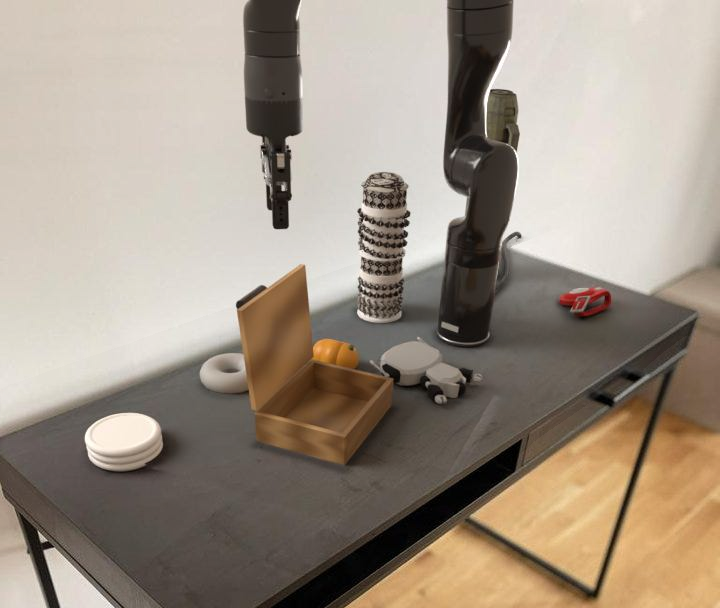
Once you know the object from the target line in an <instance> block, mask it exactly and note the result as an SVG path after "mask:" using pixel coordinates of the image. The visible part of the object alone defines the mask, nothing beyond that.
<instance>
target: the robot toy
mask: <svg viewBox="0 0 720 608" xmlns="http://www.w3.org/2000/svg"><path fill="white" fill-rule="evenodd" d="M416 339H417V340H418V341H415V340H413V341H408V342H407V341H406V342H402V343H400V344H397V345H393V346H392V347H390V348H389V349H388V350H387V351H385V352H384V353H383V354H382V355H381V357H380V363H379V365H378V364H377V363H376V362H375V361H374V360H369V363H370V364H371V365H372V366H374V367H375V368H376V369H377V370H378V371H380V375H381V376H385V377H389V378H393V379H394V380H393V383H395V384H397V385H399V386H406V387H407V386H408V387H410V386H415V385H419V384H420V385H421V386H422V387H423V388H426V391H427V396H428V397H429V399H430V400H431V401H432V402H435V403H437V404H439V405H442V404H446V403H447V401H448V399H447V398H451V399H456V398H458V396H463V395H464V394H465V393H466V391H467V387H466V383H468V384H471V381H472V382H474V383H481V382H482V380H483V375H482V374H480V373H474V370H473V369H469V368H465V367H461V368H457V367H455V366H452V365H450V364H447V363H445V362H442V361H443V354H442V353H441V352H440V351H439V349H437V348H435V347H433V346H431V345H429V344H428V343H427V342H425V340H424V339H422V338H421V337H420V336H417V337H416Z"/></svg>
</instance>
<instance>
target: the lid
mask: <svg viewBox="0 0 720 608" xmlns="http://www.w3.org/2000/svg"><path fill="white" fill-rule="evenodd" d="M307 279H308V278H307V269H306V264H302V263H300V264H299V265H297V266H296V267H295V268H293V269H291V270H290V271H288V273H286V274H285V275H284V276H282V277H281V278H279V279H278V280H276V281H275V282H274V283H272V284H271V285H269V286H268V287H267V286H266V285H265V284H264V285H263V284H261V285H258V286H257V287H256V288H254V289H252V290H251V291H250V292H248V293H247V294H246V295H244V296H242V297H241V298H239V299H238V300H236V302H235V308H236V315H237V320H238V328H239V335H240V340H241V346H242V347H241V348H242V354H243V355H244V361H245V368H246V375H247V381H248V388H249V391H248V394H249V401H250V407H251V410H252V411H256V412H257V411H258V410H259V409H260V408H261V407H262V406H263V405H264V404H265V403H266V402H267V401H268V400H269V399H270V398H271V397H272V396H273V395H274V394H276V393H277V392H278V391H279V390H280V389H281V388H282V387H283V386H284V385H285V384H286V383H287V382H288V381H289V380H290V379H291V378H292V377H294V376H295V375H296V374H297V373H298V372H299V371H300V370H301V369H302V368H303V367H304V366H305V365H306V364H307V363H308V362H310V361H311V360H312V358H313V357H314V354H313V347H314V344H313V343H314V342H313V333H312V323H311V322H312V321H311V312H310V301H309V292H308V291H309V290H308V282H307V281H308V280H307Z"/></svg>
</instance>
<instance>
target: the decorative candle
mask: <svg viewBox="0 0 720 608" xmlns="http://www.w3.org/2000/svg"><path fill="white" fill-rule="evenodd" d="M360 185H361V187H362V188H363V190H362V191H363V192H362V198H363V199H362V201H361V207H359V208H357V210H356V211H357V214H358V221H357V225H358V230H357V233H358V242H357V245H358V246H359V248H358V254H359V256H360V257H361V258H360V267H359V276H358V277H357V281H358V285H357V289H358V293H357V295H356V298H357V303H356V307H357V312H356V314H357V316H358V317H359V318H360V319H361V320H364V321H366V322H370V323H374V324H375V323H376V324H385V323H392V322H396V321H398V320H400V318H402V313H403V312H402V310H403V309H402V308H403V306H404V305H403V304H402V303H403V300H404V297H403V292H404V287H403V285H404V283H405V279H404V277H403V274H404V273H403V272H404V269H403V262H404V261H403V259H404V257H406V253H407V252H406V249H405V247H406V246H408V241H407V240H406V238H408V237H409V232H408V231H407V230H406V229H405V228H407V227H409V226H410V224H411V223H410V220H408V218H410V217H411V214H412V213H411V211H410V210H409V209H408V203H407V198H408V197H407V196H408V189H409V186H410V185H409V184H408V183H407V182H405V179H404V178H403V177H402V176H401V175H400V174H397V173H394V172H389V171H378V172H374V173H371V174H369V175H368V177H367V178H366V180H364V181H362V182H361V184H360Z"/></svg>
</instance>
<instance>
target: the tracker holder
mask: <svg viewBox="0 0 720 608" xmlns="http://www.w3.org/2000/svg"><path fill="white" fill-rule="evenodd" d="M603 297H604V298H603ZM601 298H603V299H604V300H603V302H602V303H601V304H599V305H597V306H595V307H592V308H590V309H587V310H585V309H586V308H587V305H590V304H592V303H594V302H596V301H598V300H599V299H601ZM558 300H559V304H560V305H562V306H572V307H571V308H570V310H569V313H570V314H573V315H574V316H575V317H589V316H591V315H595V314H597V313H599V312H602V311H604V310H606V309H608V308H609V307H610V306H611V303H612V294H611V292H610V291H608V290H606V289H604V288H603V287H599V286H593V287H588V286H587V287H585V286H583V287H577V288H573V289H571V290H569V291H567V292H565V293H564V294H561V295H560V296H559V298H558Z"/></svg>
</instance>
